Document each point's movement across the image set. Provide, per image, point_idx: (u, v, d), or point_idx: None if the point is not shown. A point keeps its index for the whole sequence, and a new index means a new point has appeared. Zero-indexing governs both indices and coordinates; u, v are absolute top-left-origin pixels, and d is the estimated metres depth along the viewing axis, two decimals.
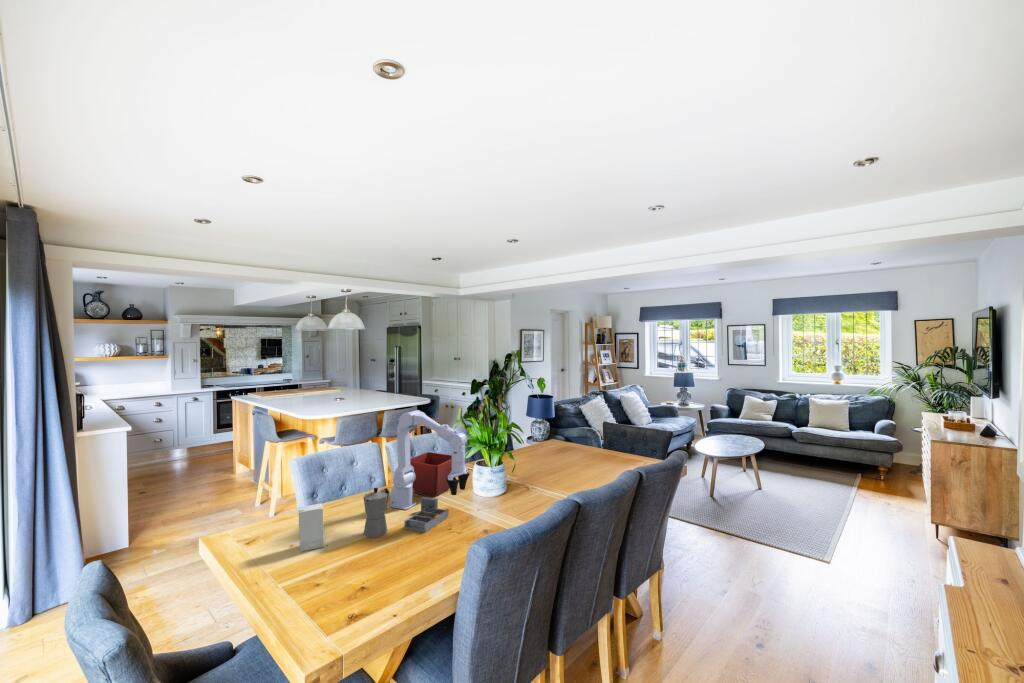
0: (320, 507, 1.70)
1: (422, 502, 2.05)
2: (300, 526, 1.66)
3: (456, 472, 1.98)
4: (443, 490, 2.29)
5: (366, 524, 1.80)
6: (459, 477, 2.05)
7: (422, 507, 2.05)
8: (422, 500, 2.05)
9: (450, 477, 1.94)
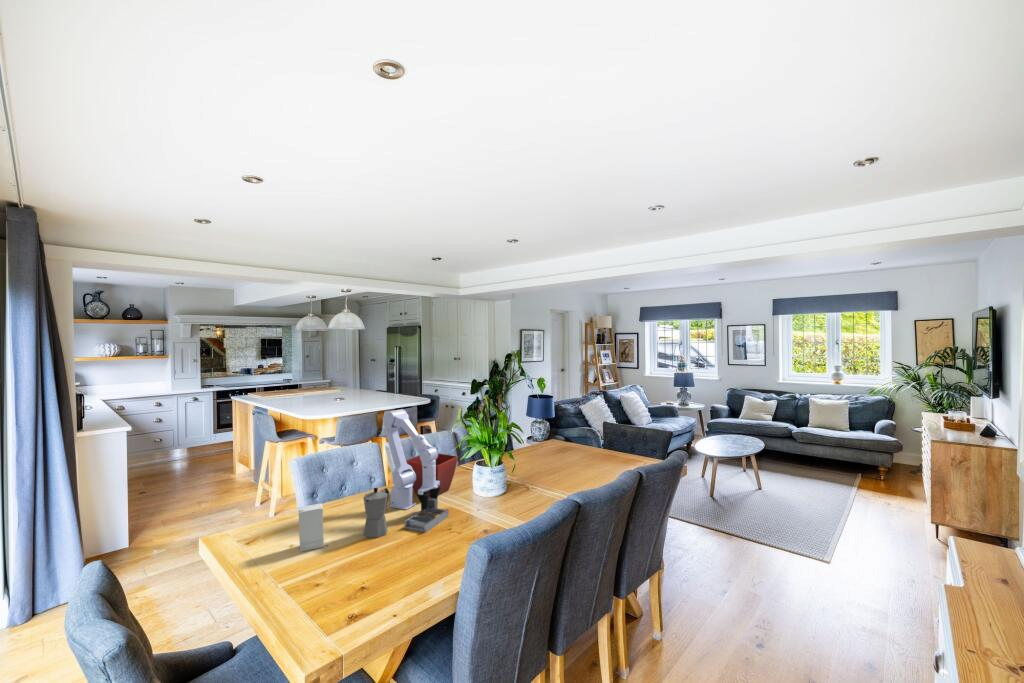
0: (320, 507, 1.70)
1: None
2: (300, 526, 1.66)
3: (427, 486, 2.02)
4: (443, 490, 2.29)
5: (366, 524, 1.80)
6: (430, 491, 2.08)
7: None
8: None
9: (420, 492, 1.98)
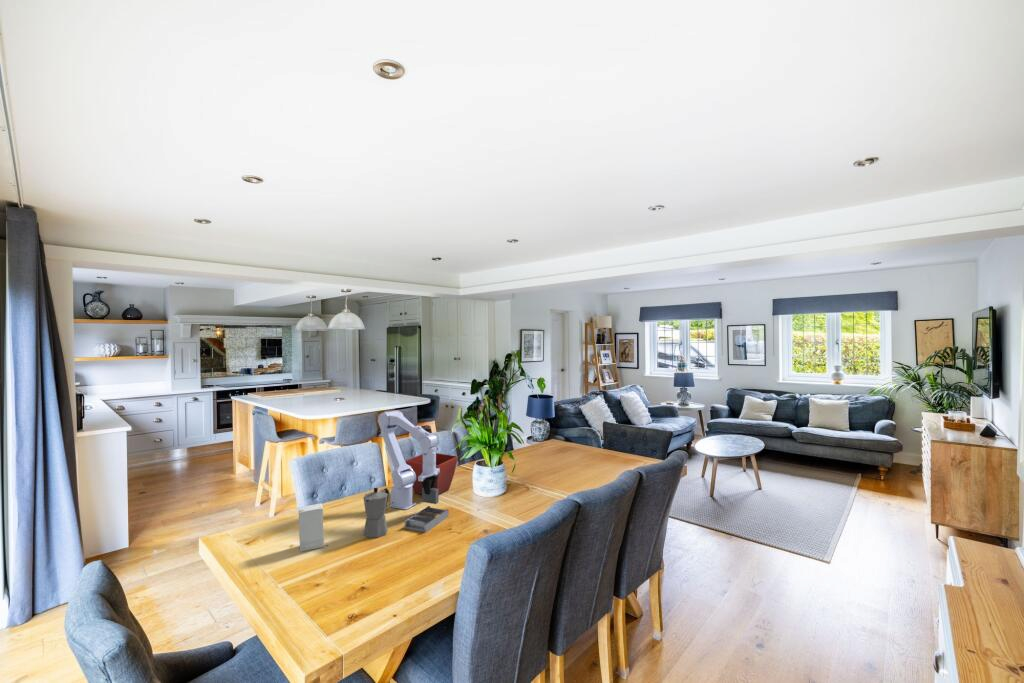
0: (320, 507, 1.70)
1: (423, 492, 2.04)
2: (300, 526, 1.66)
3: (427, 473, 2.01)
4: (443, 490, 2.29)
5: (366, 524, 1.80)
6: None
7: (423, 497, 2.04)
8: (423, 490, 2.04)
9: (420, 478, 1.97)
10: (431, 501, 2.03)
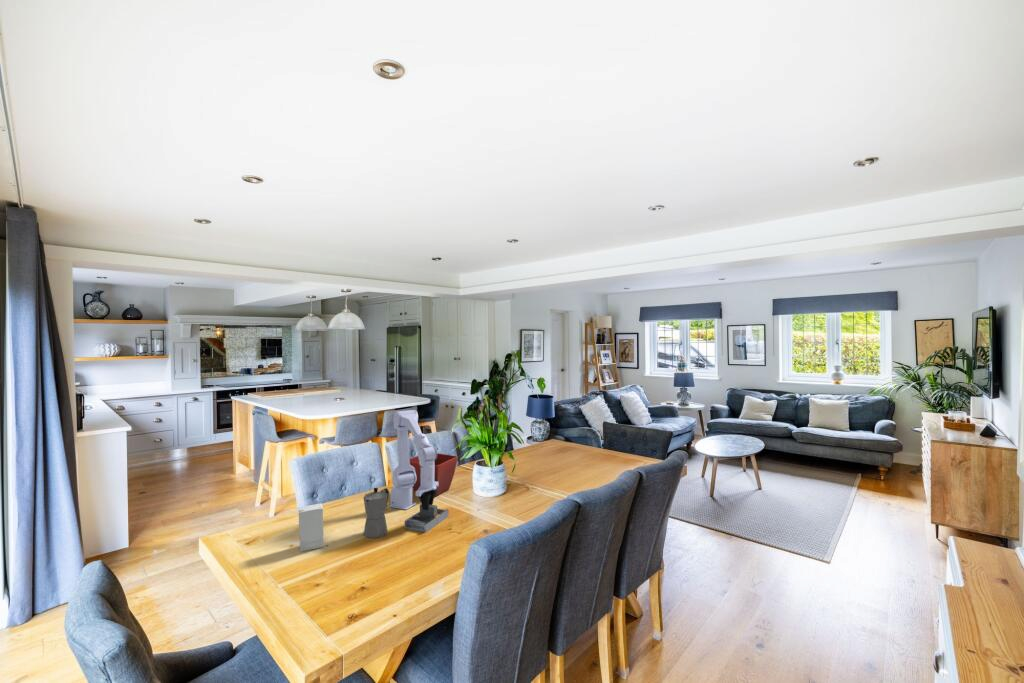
0: (320, 507, 1.70)
1: (421, 509, 1.93)
2: (300, 526, 1.66)
3: (425, 488, 1.90)
4: (443, 490, 2.29)
5: (366, 524, 1.80)
6: None
7: (420, 514, 1.93)
8: (421, 507, 1.93)
9: (418, 493, 1.86)
10: None
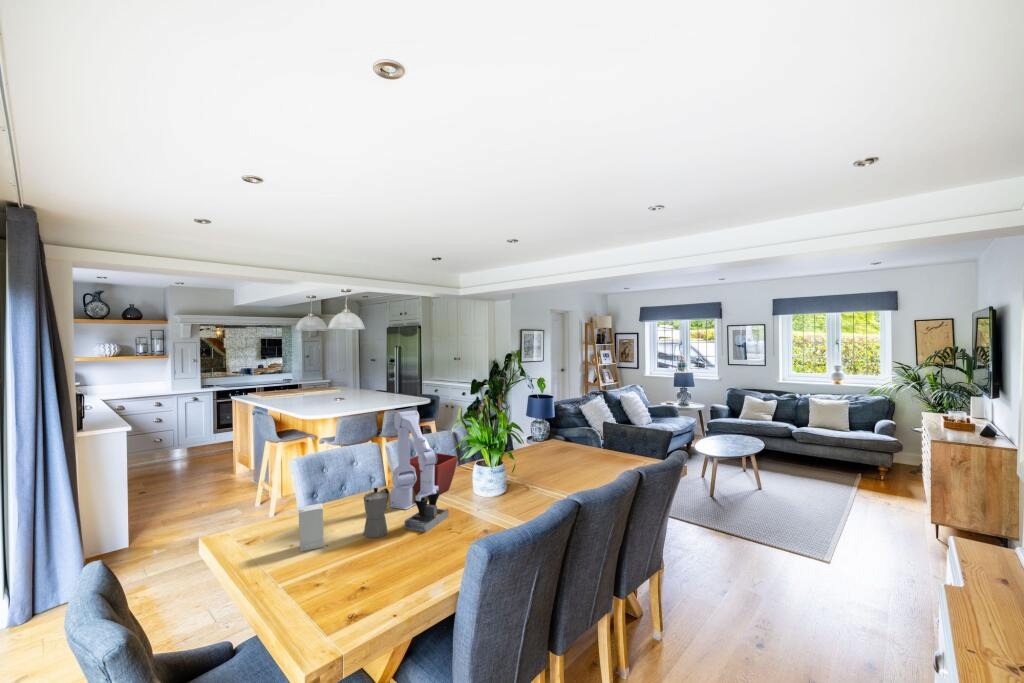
0: (320, 507, 1.70)
1: None
2: (300, 526, 1.66)
3: (425, 492, 1.90)
4: (443, 490, 2.29)
5: (366, 524, 1.80)
6: (429, 496, 1.97)
7: None
8: None
9: (418, 498, 1.86)
10: None
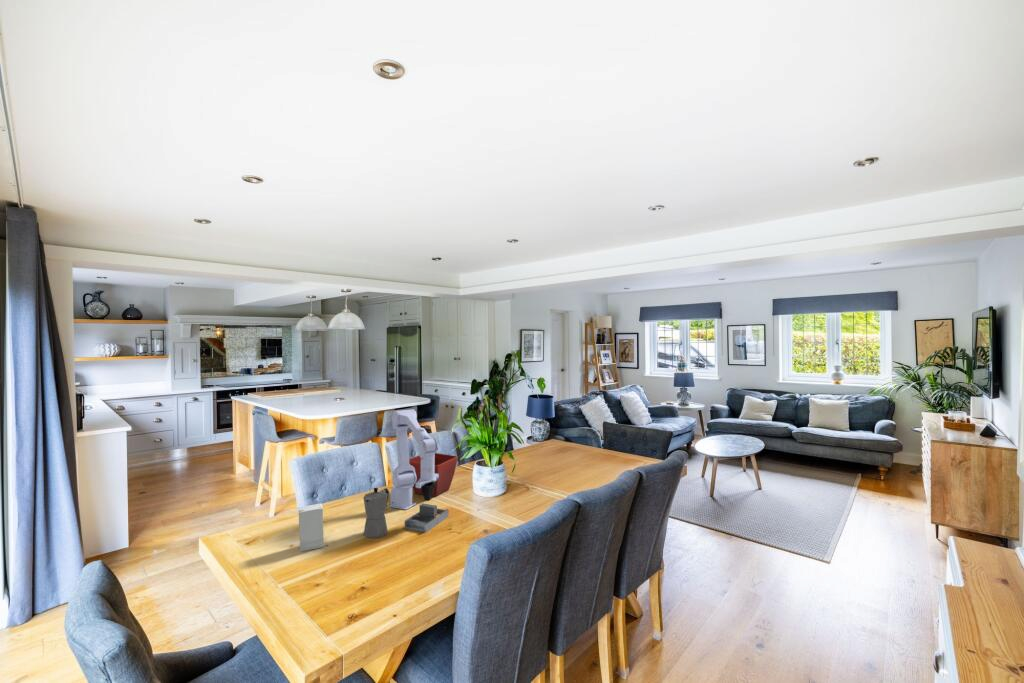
0: (320, 507, 1.70)
1: (420, 509, 1.93)
2: (300, 526, 1.66)
3: (425, 479, 1.90)
4: (443, 490, 2.29)
5: (366, 524, 1.80)
6: None
7: (420, 514, 1.93)
8: (420, 507, 1.93)
9: (418, 485, 1.86)
10: None
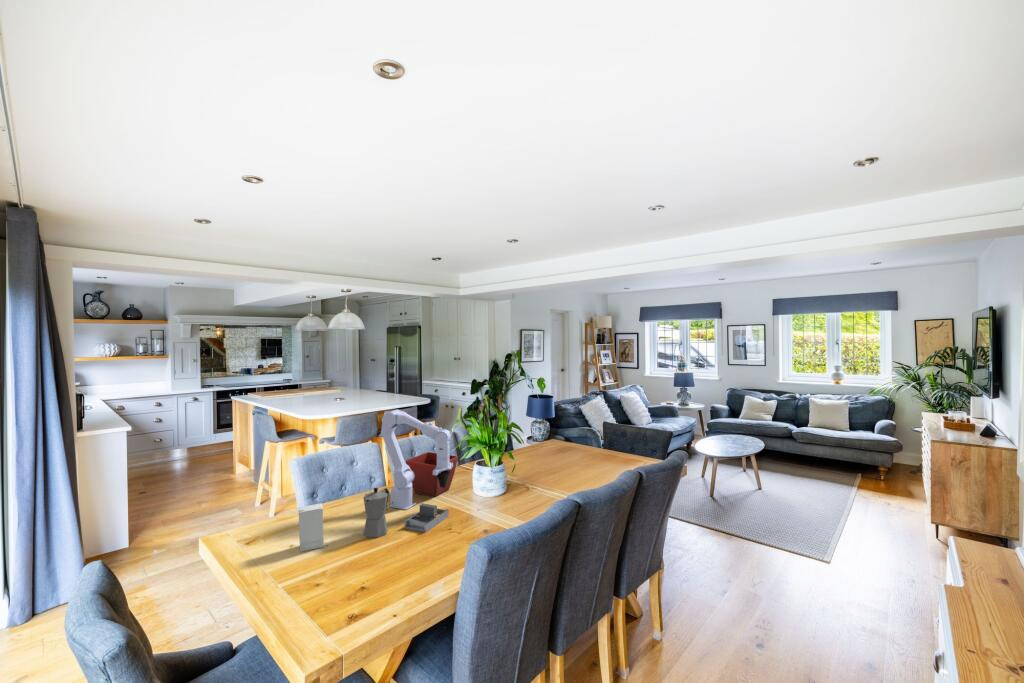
0: (320, 507, 1.70)
1: (420, 509, 1.93)
2: (300, 526, 1.66)
3: (441, 467, 2.06)
4: (443, 490, 2.29)
5: (366, 524, 1.80)
6: None
7: (420, 514, 1.93)
8: (420, 507, 1.93)
9: (435, 472, 2.02)
10: None
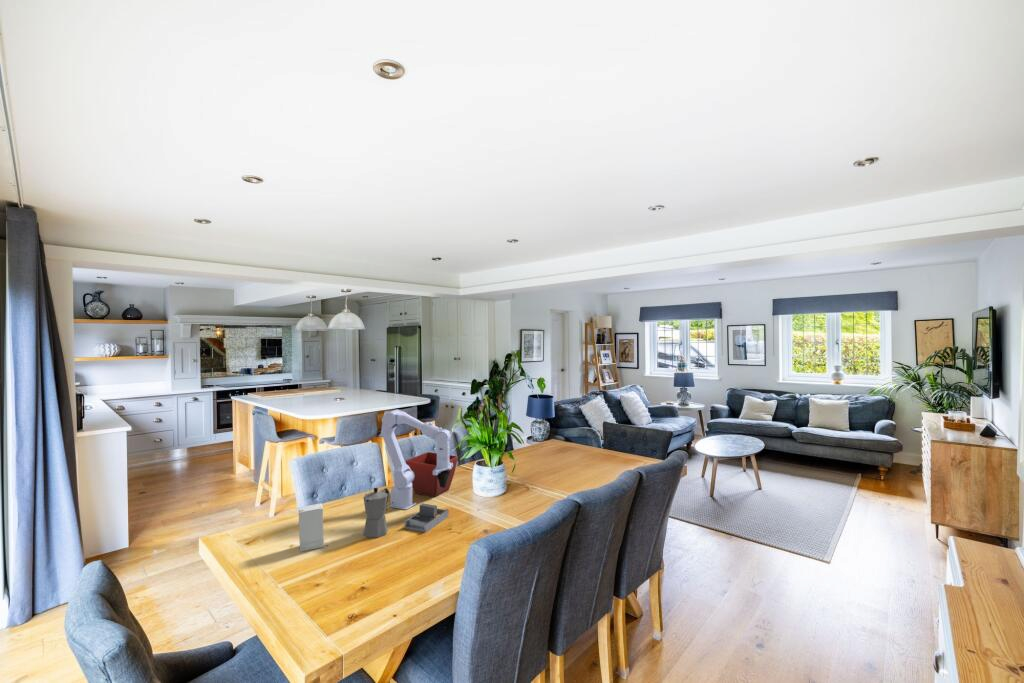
0: (320, 507, 1.70)
1: (420, 509, 1.93)
2: (300, 526, 1.66)
3: (441, 467, 2.06)
4: (443, 490, 2.29)
5: (366, 524, 1.80)
6: None
7: (420, 514, 1.93)
8: (420, 507, 1.93)
9: (435, 472, 2.02)
10: None
